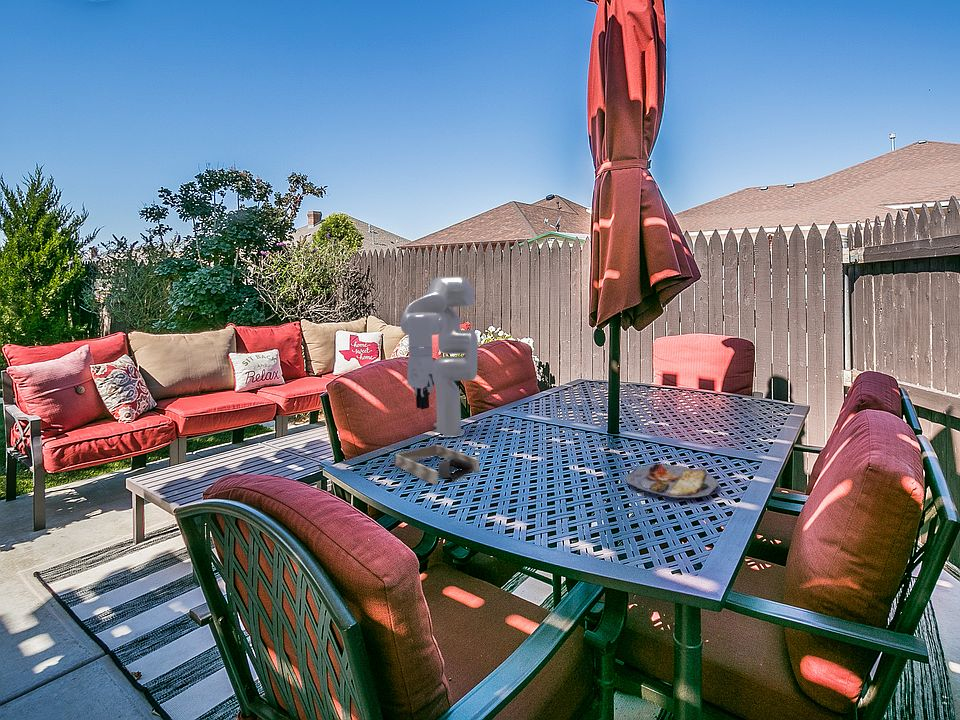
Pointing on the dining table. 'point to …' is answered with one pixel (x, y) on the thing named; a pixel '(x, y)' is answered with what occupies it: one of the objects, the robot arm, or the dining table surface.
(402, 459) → the beige u-shaped frame
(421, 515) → the dining table surface
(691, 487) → the food plate
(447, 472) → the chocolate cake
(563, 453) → the dining table surface
